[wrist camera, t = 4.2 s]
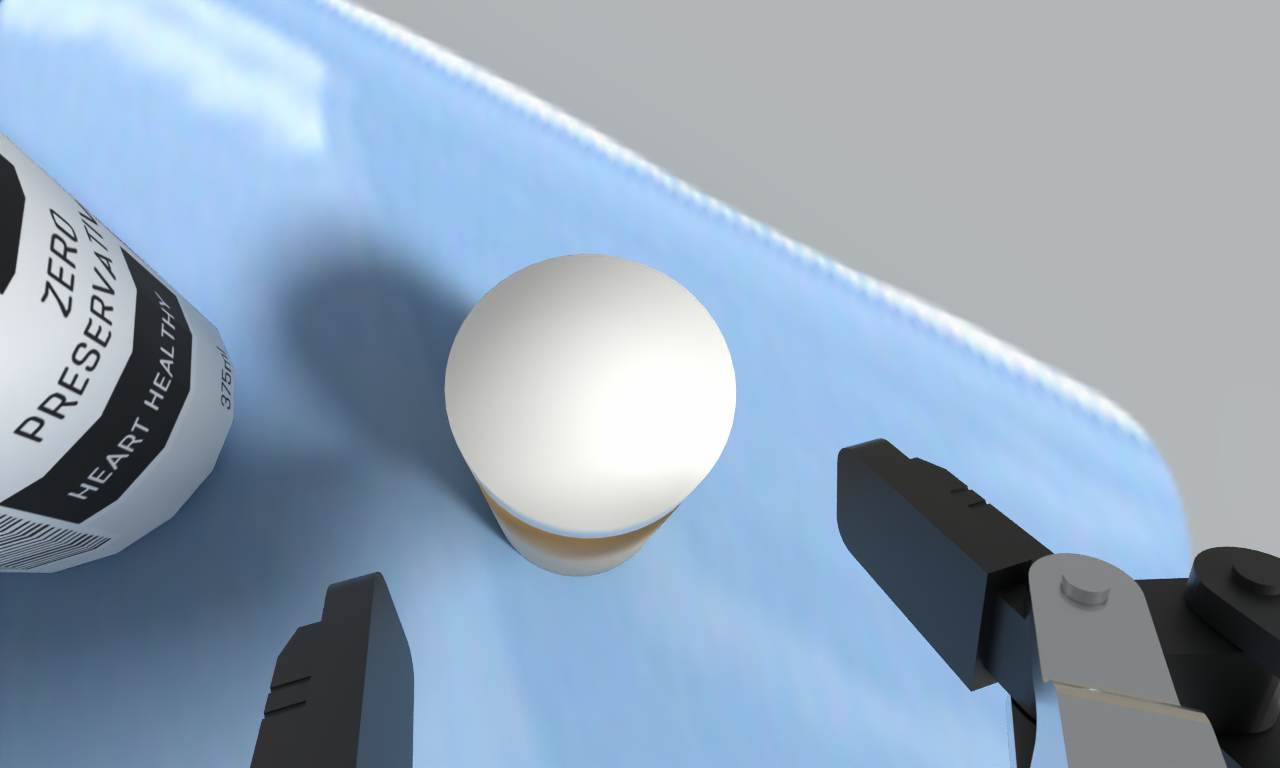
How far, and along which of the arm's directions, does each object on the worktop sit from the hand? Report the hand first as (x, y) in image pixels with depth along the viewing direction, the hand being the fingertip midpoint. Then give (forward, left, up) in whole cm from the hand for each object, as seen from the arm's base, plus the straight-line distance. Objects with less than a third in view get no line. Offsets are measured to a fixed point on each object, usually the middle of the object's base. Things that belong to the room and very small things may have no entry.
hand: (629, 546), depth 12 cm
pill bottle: (-2, +2, -8) cm, 8 cm away
